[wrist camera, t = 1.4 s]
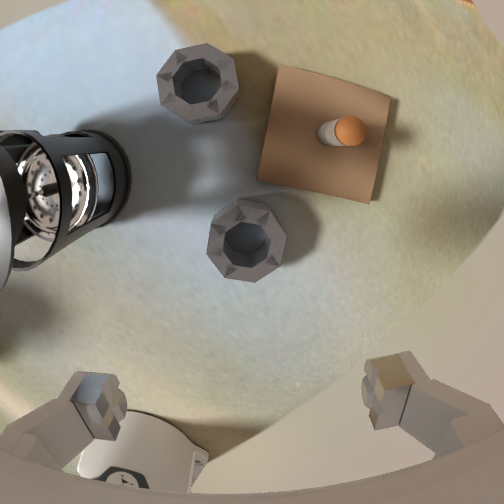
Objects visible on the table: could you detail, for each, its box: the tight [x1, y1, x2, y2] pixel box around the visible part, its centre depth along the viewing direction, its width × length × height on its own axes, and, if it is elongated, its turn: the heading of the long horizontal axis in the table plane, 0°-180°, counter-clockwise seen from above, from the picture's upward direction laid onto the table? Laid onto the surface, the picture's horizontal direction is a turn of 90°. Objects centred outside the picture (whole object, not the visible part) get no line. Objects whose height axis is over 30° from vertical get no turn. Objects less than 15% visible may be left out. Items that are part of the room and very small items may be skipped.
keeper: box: [256, 65, 391, 204], centre depth 23 cm, size 10×10×8 cm
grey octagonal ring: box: [156, 43, 239, 125], centre depth 23 cm, size 6×6×4 cm
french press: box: [0, 130, 131, 292], centre depth 15 cm, size 12×9×23 cm
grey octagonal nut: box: [206, 199, 287, 283], centre depth 27 cm, size 6×6×4 cm
